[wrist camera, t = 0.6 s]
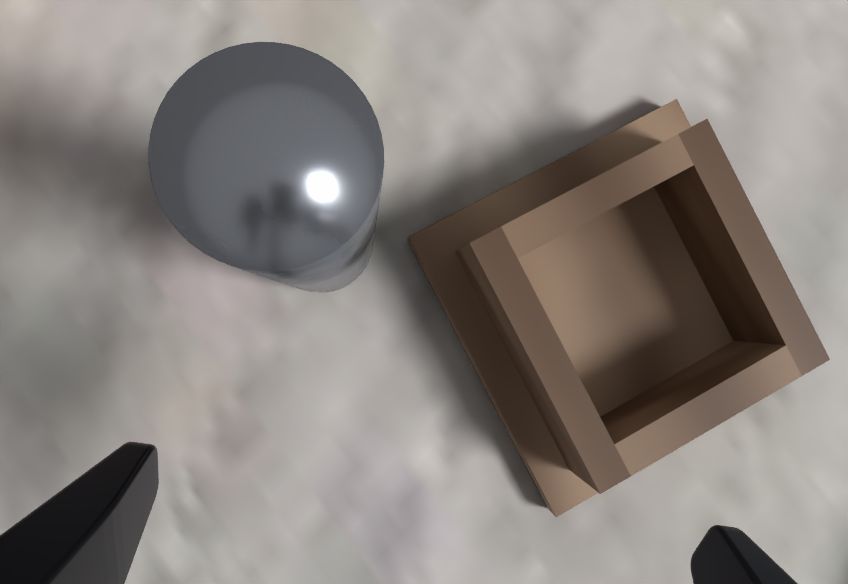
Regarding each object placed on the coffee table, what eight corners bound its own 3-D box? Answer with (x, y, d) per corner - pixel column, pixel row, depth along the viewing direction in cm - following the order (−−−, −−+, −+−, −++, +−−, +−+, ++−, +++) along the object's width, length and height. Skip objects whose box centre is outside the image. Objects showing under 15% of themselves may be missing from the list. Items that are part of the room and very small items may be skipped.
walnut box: (548, 508, 24) (585, 548, 20) (407, 239, 24) (416, 225, 20) (795, 364, 25) (876, 374, 21) (664, 107, 25) (721, 68, 21)
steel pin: (298, 310, 23) (217, 312, 10) (249, 218, 23) (106, 102, 10) (390, 262, 24) (424, 206, 11) (342, 171, 24) (318, 4, 11)
